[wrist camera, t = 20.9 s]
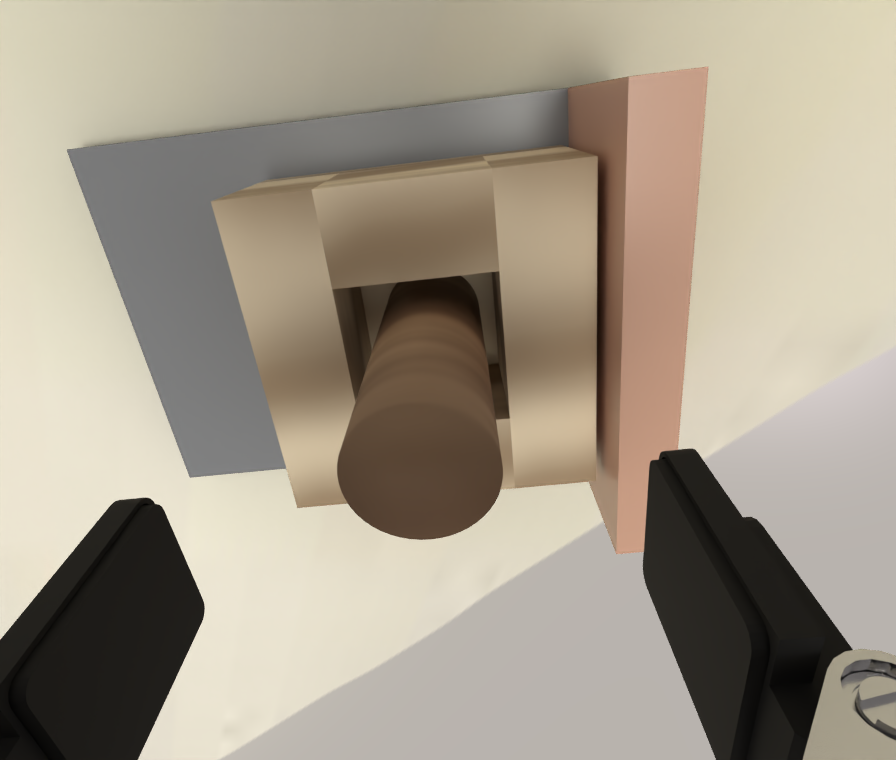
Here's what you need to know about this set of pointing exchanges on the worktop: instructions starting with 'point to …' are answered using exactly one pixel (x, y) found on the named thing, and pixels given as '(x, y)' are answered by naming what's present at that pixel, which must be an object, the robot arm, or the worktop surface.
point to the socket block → (417, 258)
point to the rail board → (398, 142)
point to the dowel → (424, 417)
